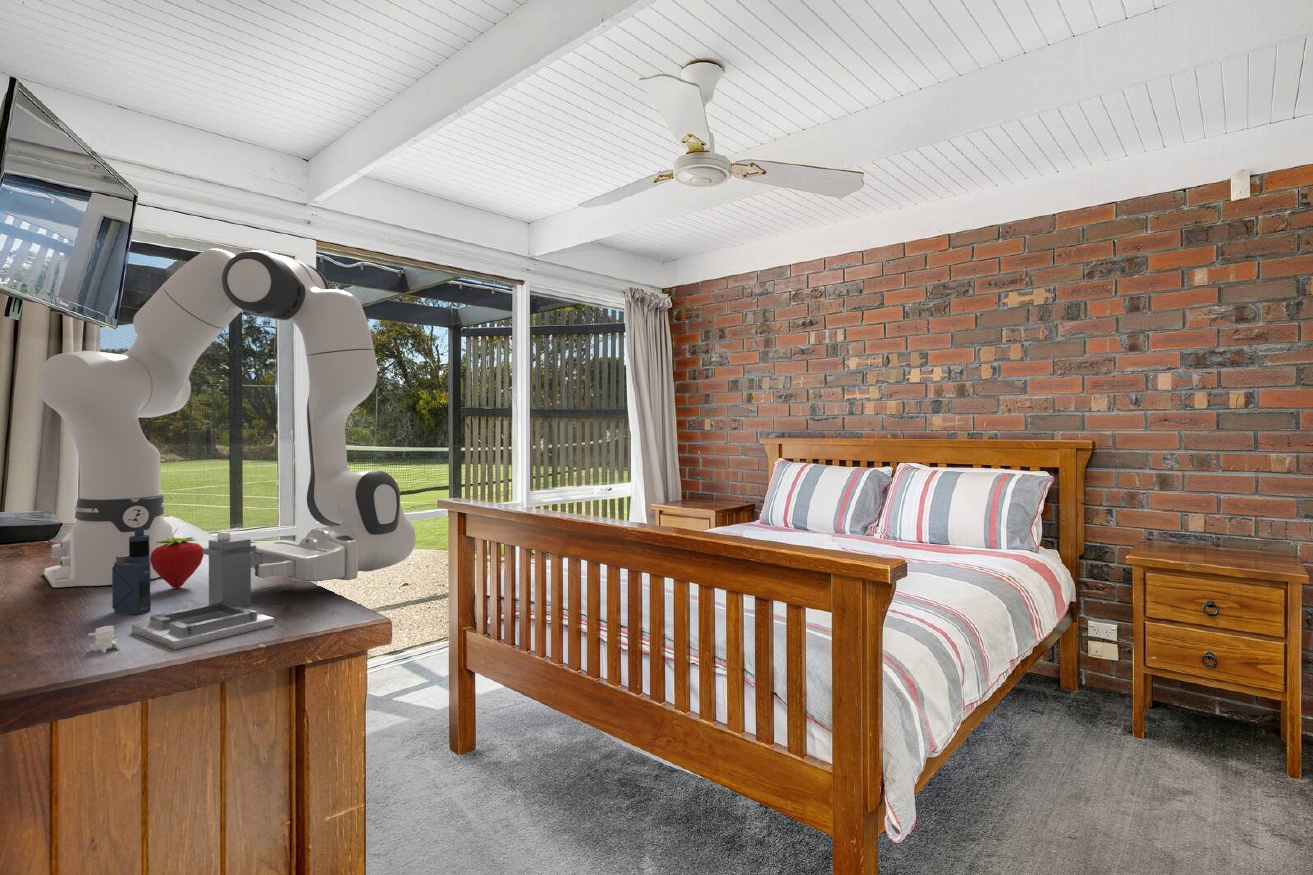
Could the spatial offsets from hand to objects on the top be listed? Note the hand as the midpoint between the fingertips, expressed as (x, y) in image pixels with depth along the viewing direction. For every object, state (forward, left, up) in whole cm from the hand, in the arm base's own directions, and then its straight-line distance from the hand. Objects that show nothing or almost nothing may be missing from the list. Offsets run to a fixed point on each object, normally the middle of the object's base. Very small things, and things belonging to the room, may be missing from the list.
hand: (240, 567), depth 103 cm
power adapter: (+9, -20, -6) cm, 23 cm away
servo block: (0, -2, -6) cm, 6 cm away
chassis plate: (+9, -9, -5) cm, 14 cm away
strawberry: (-18, -1, -6) cm, 19 cm away
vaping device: (-8, -11, -6) cm, 15 cm away
